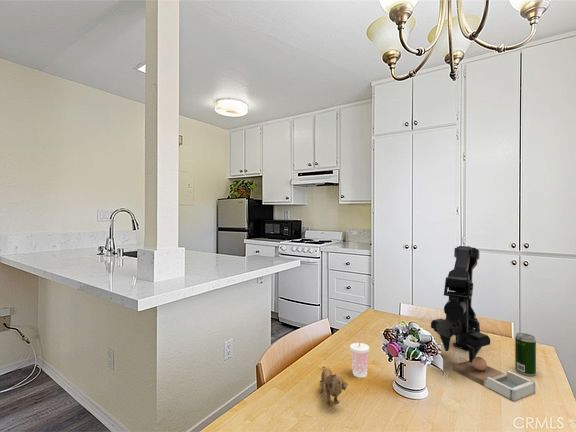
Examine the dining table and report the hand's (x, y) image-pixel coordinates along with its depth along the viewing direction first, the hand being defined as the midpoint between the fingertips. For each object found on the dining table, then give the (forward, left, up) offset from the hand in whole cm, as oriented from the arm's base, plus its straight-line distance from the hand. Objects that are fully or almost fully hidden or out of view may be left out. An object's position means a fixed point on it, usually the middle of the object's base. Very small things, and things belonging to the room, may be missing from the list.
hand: (458, 356), depth 106 cm
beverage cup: (-9, -35, -3) cm, 36 cm away
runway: (+8, 0, -3) cm, 8 cm away
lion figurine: (-1, -50, -3) cm, 50 cm away
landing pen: (+17, 0, -3) cm, 17 cm away
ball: (+7, 0, +1) cm, 7 cm away
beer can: (+13, +15, -3) cm, 20 cm away
